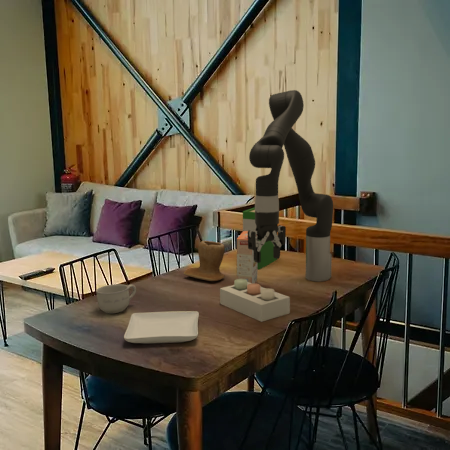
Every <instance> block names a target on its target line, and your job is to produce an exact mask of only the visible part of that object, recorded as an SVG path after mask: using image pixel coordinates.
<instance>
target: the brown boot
mask: <svg viewBox="0 0 450 450" xmlns="http://www.w3.org/2000/svg"><path fill="white" fill-rule="evenodd" d="M197 251H198V259H199V260H198V261H199V266H198V267H190V268H188V269H186V270H185V271H184V272H183V275H185V276H187V277H191V278H195V279H198V280H204V281H208V282H217V281H221V280H223V279H224V278H225V274H223V273H222V272H221V270H220V268H221V265H222V262H223V259H224V255H225V252H226V251H225V245H224V243H221V242H218V241H211V240H202V241H200V243H199V245H198V250H197Z"/></svg>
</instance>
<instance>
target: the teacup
mask: <svg viewBox="0 0 450 450" xmlns="http://www.w3.org/2000/svg"><path fill="white" fill-rule="evenodd" d="M131 288H132V291H131V294H130V292H129V291H130V289H131ZM95 292H96V300H97V305H98V308H99V310H101V311H103V312H104V313H105V314H116V313H117V314H118V313H122V312H124V311H125V310H126V308H127V307H128V306H129V304H130V301H131V300H132V299H133V297H134V296H135V295H136V292H137V287H136V286H135V284H128V285H126V284H123V283H122V284H121V283H115V284H114V283H113V284H108V285H103V286H100V287H98V288H97V289H96V290H95Z"/></svg>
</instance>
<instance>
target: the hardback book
mask: <svg viewBox="0 0 450 450" xmlns="http://www.w3.org/2000/svg"><path fill="white" fill-rule="evenodd" d="M249 230H250V231H254V230H256V224H255V206H254V207H252V208H249V209H245V210H243V211H242V232H243V231H249ZM259 241H261V240H259ZM258 245H259V244H258ZM273 247H274V245H273V243H272V241H268V242H265V243H264V245H263V246H262V247H261V249H260V251H261V262H260V263H258V265H257V271H260V270H261V269H264V268H265V267H267V266H269V265H271V264H272V263H274V262H276V261H277V260H278V259H276V258H274V257H273Z"/></svg>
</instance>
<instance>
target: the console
mask: <svg viewBox="0 0 450 450" xmlns="http://www.w3.org/2000/svg"><path fill="white" fill-rule="evenodd" d="M248 284H252V283H249V282H247V285H248ZM260 287H261V289H265V287H263V286H261V285H260ZM219 303H220V305H223V306H225V307H226V308H229V309H231V310H234V311H236V312H238V313H240V314H243V315H244V316H248V317H250V318H252V319H253V320H256V321H259V322H261V323H262V322H265V321H269V320H272V319H275V318H278V317H282V316H286V315H288V314H291V297H290V296H288V295H285V294H283V293H279V292H276V291H274V300H270V301H265V300H262V299H261V293H260V294H259V295H249V294H247V289H246V290H236V289H235V288H234V284H233V285H227V286H223V287H220V288H219Z"/></svg>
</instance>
